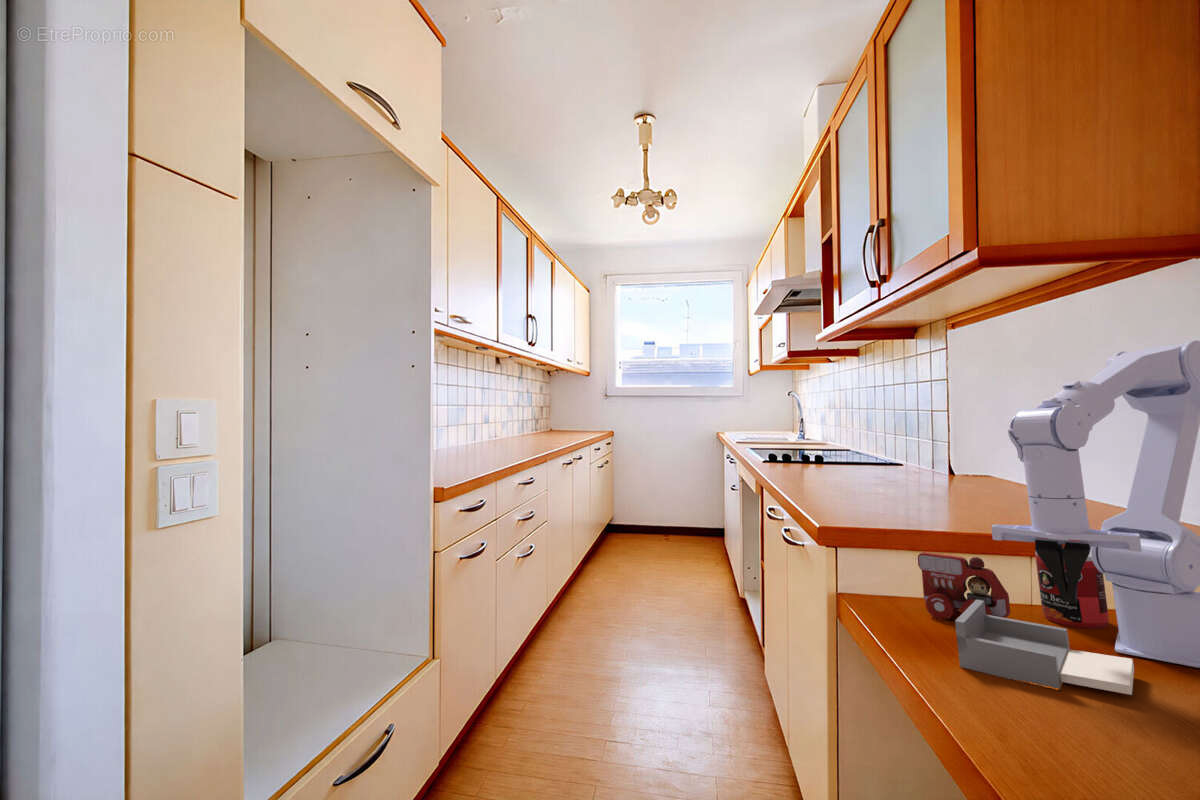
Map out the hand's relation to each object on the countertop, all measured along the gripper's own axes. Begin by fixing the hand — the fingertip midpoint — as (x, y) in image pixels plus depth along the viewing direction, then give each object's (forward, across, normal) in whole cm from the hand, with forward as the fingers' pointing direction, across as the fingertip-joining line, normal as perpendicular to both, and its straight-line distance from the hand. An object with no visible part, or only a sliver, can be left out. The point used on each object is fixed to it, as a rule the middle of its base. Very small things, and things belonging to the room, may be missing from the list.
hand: (1069, 600), depth 66 cm
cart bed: (+9, -6, -3) cm, 11 cm away
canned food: (+9, -2, +22) cm, 24 cm away
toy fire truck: (+9, -15, +13) cm, 22 cm away
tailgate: (+7, -1, -3) cm, 7 cm away
